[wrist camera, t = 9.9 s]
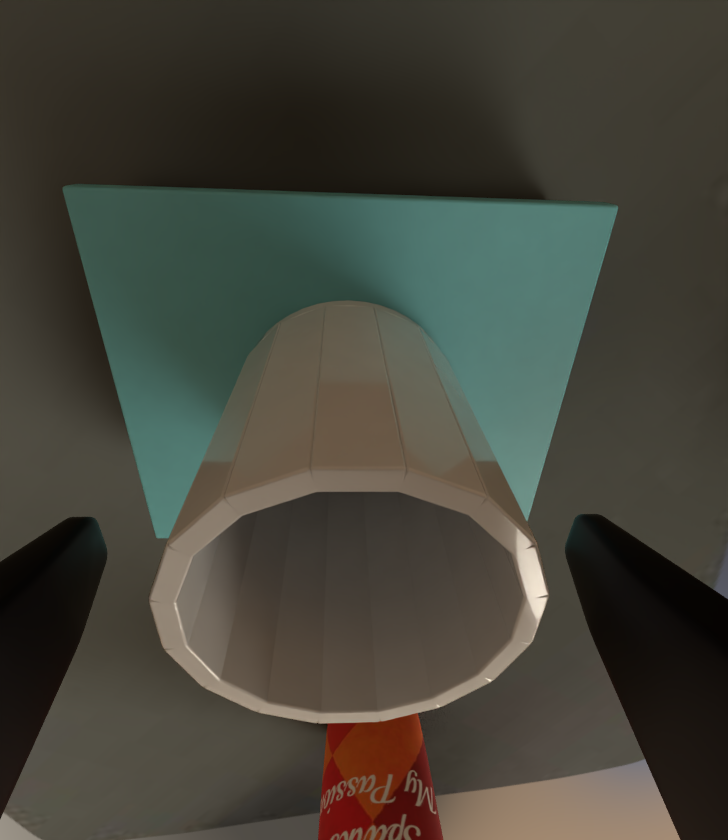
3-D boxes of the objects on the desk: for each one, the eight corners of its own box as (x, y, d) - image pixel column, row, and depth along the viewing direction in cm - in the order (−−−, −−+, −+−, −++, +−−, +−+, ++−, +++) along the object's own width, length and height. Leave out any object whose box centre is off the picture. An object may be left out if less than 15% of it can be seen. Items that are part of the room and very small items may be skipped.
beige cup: (467, 302, 12) (597, 468, 6) (439, 486, 15) (505, 719, 9) (228, 296, 11) (105, 467, 5) (249, 486, 15) (187, 728, 9)
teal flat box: (562, 191, 14) (620, 205, 11) (496, 478, 19) (523, 537, 16) (121, 175, 13) (59, 185, 10) (183, 478, 18) (155, 539, 16)
